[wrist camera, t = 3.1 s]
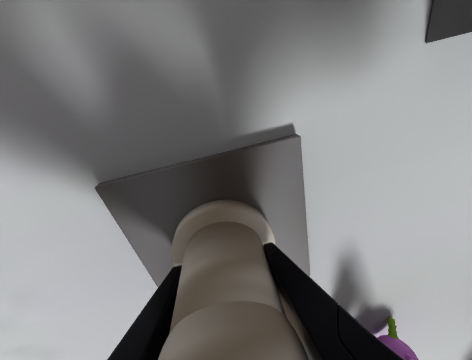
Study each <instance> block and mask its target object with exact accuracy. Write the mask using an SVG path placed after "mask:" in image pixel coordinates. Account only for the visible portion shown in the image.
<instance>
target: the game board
mask: <svg viewBox="0 0 472 360" xmlns="http://www.w3.org/2000/svg"><path fill="white" fill-rule="evenodd" d="M95 189H96V191H97V192H98V194H99V196H100V197H101V199H102V200H103V202H104V203H105V205H106V207H107V208H108V210H109V211H110V213H111V214H112V216H113V218H114V219H115V221H116V222H117V224H118V225H119V227H120V229H121V230H122V232H123V233H124V235H125V236H126V238H127V239H128V241H129V243H130V244H131V246H132V247H133V249H134V250H135V252H136V254H137V255H138V257H139V258H140V260H141V261H142V263H143V265H144V266H145V268H146V269H147V271H148V272H149V274H150V276H151V277H152V279H153V280H154V282H155V283H156V285H157V287H159V286H160V285H161V283H162V282H163V280H164V279H165V277H166V276H167V275H168V273H169V272H170V270H171V269H172V268H173V267H175V266H174V264H173V262H172V258H171V246H172V242H173V239H174V235H175V232H176V229H177V227H178V225H179V223H180V221H181V220H182V219H183V217H184V216H185V215H186V214H187V213H189V212H190V211H191V210H193V209H194V208H196V207H198V206H200V205H202V204H204V203H207V202H211V201H216V200H236V201H241V202H244V203H247V204H249V205H251V206H253V207H255V208H256V209H257V210H259V211H260V212H261V213H262V214H263V215H264V216H265V218H266V219H267V221H268V223H269V226H270V228H271V230H272V233H273V235H274V239H275V245H276V246H277V247H278V248H279V249H280V250H281V251H282V252H283V253H284V254H285V255H287V256H288V257H289V258H290V259H291V260H292V261H293V262H294V263H295V264H296V265H297V266H298V267H299V268H300V269H302V270H303V271H304V272H305V273H306V274H307V275H308V276H309V275H310V265H309V251H308V237H307V223H306V208H305V194H304V180H303V166H302V151H301V137H300V136H299V135H297V134H296V135H292V136H288V137H284V138H280V139H276V140H272V141H268V142H264V143H260V144H256V145H252V146H248V147H244V148H240V149H236V150H232V151H228V152H224V153H220V154H216V155H212V156H208V157H204V158H200V159H196V160H192V161H188V162H184V163H180V164H176V165H172V166H168V167H164V168H160V169H156V170H152V171H148V172H144V173H140V174H136V175H132V176H128V177H124V178H120V179H116V180H112V181H108V182H104V183H100V184H99V185H97V186H96V187H95Z"/></svg>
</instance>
